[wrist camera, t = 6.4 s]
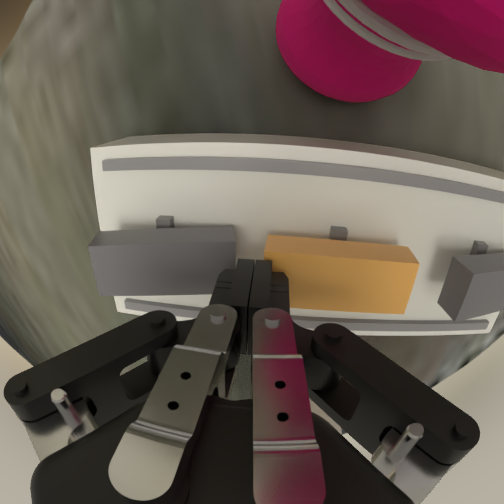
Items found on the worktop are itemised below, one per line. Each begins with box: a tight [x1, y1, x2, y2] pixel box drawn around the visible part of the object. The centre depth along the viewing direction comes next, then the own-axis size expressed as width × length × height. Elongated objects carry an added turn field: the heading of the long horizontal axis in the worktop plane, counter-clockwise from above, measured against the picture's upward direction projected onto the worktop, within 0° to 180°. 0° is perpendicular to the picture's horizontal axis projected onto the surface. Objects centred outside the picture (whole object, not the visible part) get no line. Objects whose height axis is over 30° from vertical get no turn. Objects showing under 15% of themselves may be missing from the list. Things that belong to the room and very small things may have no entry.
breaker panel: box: [90, 133, 504, 336], centre depth 18 cm, size 27×11×6 cm, turn 88°
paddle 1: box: [88, 226, 236, 296], centre depth 15 cm, size 7×3×2 cm, turn 89°
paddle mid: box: [264, 234, 420, 314], centre depth 14 cm, size 7×3×2 cm, turn 88°
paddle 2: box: [437, 253, 504, 322], centre depth 14 cm, size 7×3×2 cm, turn 89°
